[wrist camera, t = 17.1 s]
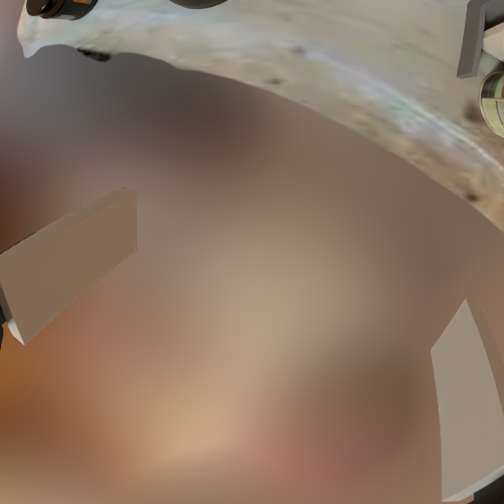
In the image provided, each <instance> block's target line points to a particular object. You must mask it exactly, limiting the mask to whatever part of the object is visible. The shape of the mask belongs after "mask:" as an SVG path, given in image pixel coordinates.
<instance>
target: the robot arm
mask: <svg viewBox="0 0 504 504" xmlns="http://www.w3.org/2000/svg"><path fill="white" fill-rule="evenodd" d="M170 1H172V2H173V3H176V4H178V5H180V6H183V7H186V8H190V9H204V8H209V7H213V6H216V5H219V4H221V3H223V2H225V1H227V0H170ZM137 193H138V191H136V190H132V189H129V188H126V187H122V188H120V189H118V190H115V191H113V192H111V193H109V194H107V195H105V196H103V197H101V198H99V199H97V200H95V201H93V202H91V203H89V204H87V205H85V206H83V207H81V208H80V209H77V210H76V211H74V212H72V213H70V214H68V215H66V216H64V217H62V218H61V219H59V220H57V221H56V222H53V223H52V224H50V225H48V226H47V227H45V228H43V229H41V230H40V231H38V232H36V233H33V234H31V235H29V236H28V237H26V238H24V239H23V240H22V241H19V242H18V243H16V244H15V245H14V246H13V247H12V246H11V247H10V248H8V249H7V250H5V251H3V252H2V253H0V349H1V343H2V338H3V328H2V324H3V323H5V321H7V324H8V326H9V329H10V331H11V333H12V335H13V336H14V337H16V338H17V339H18V340H19V341H20V342H21V343H23V344H24V345H26V344H27V343H28V342H29V341H30V340H31V339H32V338H34V337H35V336H36V335H37V334H38V333H39V332H40V331H41V330H42V329H43V328H44V327H46V326H47V325H48V324H49V323H50V322H51V321H52V320H53V319H54V318H56V317H57V316H58V315H59V314H60V313H61V312H62V311H64V310H65V309H66V308H67V307H68V306H69V305H71V304H72V303H73V302H74V301H75V300H76V299H77V298H79V297H80V296H81V295H82V294H83V293H85V292H86V291H87V290H88V289H89V288H91V287H92V286H93V285H94V284H95V283H97V282H98V281H99V280H100V279H101V278H103V277H104V276H105V275H106V274H107V273H109V272H110V271H111V270H112V269H114V268H115V267H116V266H117V265H119V264H120V263H121V262H122V261H124V260H125V259H126V258H128V257H129V256H130V255H131V254H133V253H134V252H135V251H136V250H137ZM431 356H432V362H433V369H434V375H435V382H436V389H437V398H438V407H439V418H440V431H441V445H442V446H441V448H442V501H460V500H462V499H464V498H466V497H468V496H470V495H472V494H474V501H472V502H470V503H468V504H504V363H503V360H502V357H501V355H500V352H499V349H498V346H497V344H496V341H495V339H494V336H493V334H492V331H491V329H490V326H489V324H488V322H487V319H486V317H485V315H484V312H483V310H482V308H481V306H480V304H479V303H476V302H473V301H471V300H468V299H465V300H464V302H463V303H462V305H461V306H460V308H459V310H458V311H457V313H456V314H455V316H454V317H453V319H452V321H451V322H450V323H449V325H448V326H447V328H446V329H445V331H444V332H443V334H442V335H441V337H440V338H439V339H438V341H437V342H436V344H435V345H434V346H433V348H432V349H431Z"/></svg>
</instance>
